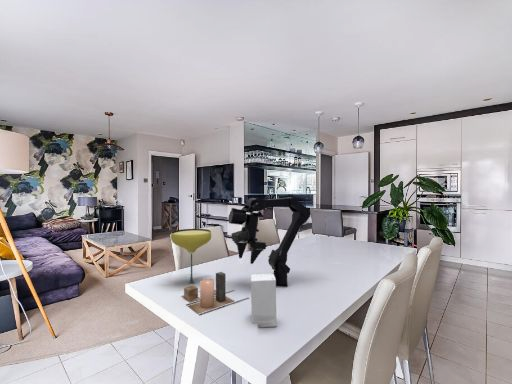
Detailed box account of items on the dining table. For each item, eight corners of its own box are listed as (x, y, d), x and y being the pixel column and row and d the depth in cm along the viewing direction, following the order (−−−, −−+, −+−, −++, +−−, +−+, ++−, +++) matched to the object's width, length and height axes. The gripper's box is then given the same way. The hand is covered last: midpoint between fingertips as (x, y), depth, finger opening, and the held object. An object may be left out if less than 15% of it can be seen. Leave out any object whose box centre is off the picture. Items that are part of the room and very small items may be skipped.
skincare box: (274, 317, 91) (274, 273, 91) (277, 328, 84) (277, 279, 84) (250, 318, 91) (250, 273, 91) (251, 328, 84) (251, 280, 84)
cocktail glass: (170, 281, 127) (170, 229, 126) (207, 277, 133) (207, 227, 133) (172, 295, 110) (172, 236, 109) (215, 289, 116) (214, 233, 116)
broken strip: (211, 290, 115) (211, 287, 115) (221, 296, 109) (221, 293, 109) (180, 299, 106) (180, 296, 106) (189, 306, 100) (189, 302, 100)
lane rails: (233, 293, 112) (233, 290, 112) (249, 301, 104) (249, 298, 104) (185, 308, 98) (185, 304, 98) (199, 319, 90) (199, 315, 90)
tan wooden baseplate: (223, 297, 107) (223, 268, 107) (235, 303, 101) (235, 273, 101) (187, 308, 97) (187, 277, 97) (197, 316, 91) (197, 283, 91)
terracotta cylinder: (215, 302, 100) (215, 278, 100) (212, 308, 95) (212, 283, 95) (202, 301, 101) (202, 278, 100) (198, 307, 96) (198, 283, 95)
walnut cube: (193, 294, 107) (193, 285, 107) (197, 297, 104) (197, 287, 104) (184, 297, 105) (184, 287, 105) (188, 300, 102) (188, 290, 102)
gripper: (225, 221, 120) (219, 255, 119) (247, 228, 105) (242, 267, 104) (245, 223, 127) (240, 255, 126) (269, 229, 111) (263, 266, 111)
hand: (245, 260), depth 116 cm, fingers open, 9 cm apart
